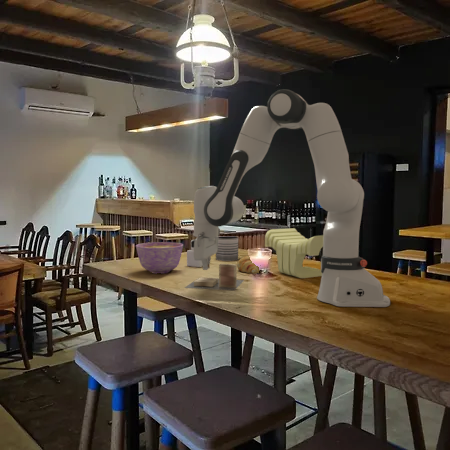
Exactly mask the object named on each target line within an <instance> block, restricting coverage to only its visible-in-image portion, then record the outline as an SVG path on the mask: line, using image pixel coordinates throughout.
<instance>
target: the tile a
mask: <svg viewBox="0 0 450 450" xmlns="http://www.w3.org/2000/svg"><path fill="white" fill-rule="evenodd" d="M218 279H219V277H202V276H201V277H198V278H196V279H195V280H194V281H193V282H194V286H209V287H213V286H214V285H216V284H217V283H218Z"/></svg>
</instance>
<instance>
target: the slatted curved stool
mask: <svg viewBox="0 0 450 450" xmlns="http://www.w3.org/2000/svg"><path fill="white" fill-rule="evenodd" d="M265 247H266V248H267V247H269V248H272V249H273V250H274V251H275V253H276V260H277V269H278V272H279V273H280V274H284V275H288V276H291V277H292V276H293V277H295V278H300V279H306V278H308V279H309V278H314V277H315V278H317V277H322V272H321V269H319V268H315V267H311V266H303V263H304V260H305V258H306V256H307V255H308V256H309V257H313V256H319V255H320V251H321V249H323V234H321V235H314V236H312V237H310V238H306V237H305V236H304V235H302V234H301V232H298V230H297V229H296V228H295V227H293V228H273V229H269V230H267V232H266V233H265V236H264V248H265Z"/></svg>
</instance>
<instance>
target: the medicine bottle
mask: <svg viewBox="0 0 450 450" xmlns="http://www.w3.org/2000/svg"><path fill="white" fill-rule="evenodd" d="M194 242H195V239H192V240H191V241H190V249H189V250H187V251H186V266H187V267H192V268H193V267H194V268H203V264H202V261H201V260H194Z"/></svg>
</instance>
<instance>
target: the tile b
mask: <svg viewBox="0 0 450 450" xmlns="http://www.w3.org/2000/svg"><path fill="white" fill-rule="evenodd" d="M237 269H238V267H237V264H233V263H230V264H229V263H219V264H218V279H219V287H233V288H236V280H237V271H238V270H237ZM236 289H237V288H236Z"/></svg>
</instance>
